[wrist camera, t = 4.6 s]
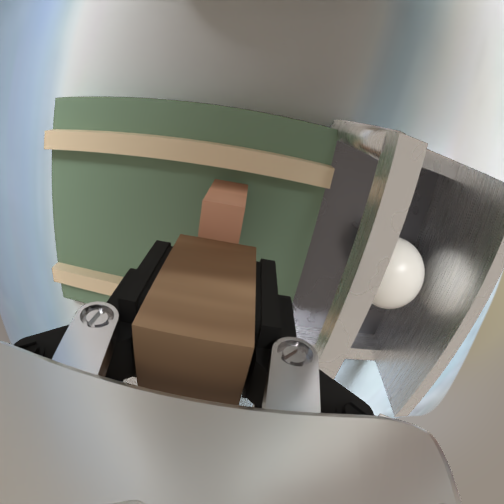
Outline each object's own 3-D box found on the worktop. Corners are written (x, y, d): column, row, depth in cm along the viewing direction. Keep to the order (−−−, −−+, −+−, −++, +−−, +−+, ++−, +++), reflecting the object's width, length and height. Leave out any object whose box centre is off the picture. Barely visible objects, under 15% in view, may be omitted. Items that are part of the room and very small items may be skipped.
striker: (200, 176, 14) (129, 272, 6) (262, 187, 14) (267, 297, 6) (188, 282, 17) (142, 419, 9) (241, 292, 17) (229, 435, 9)
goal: (333, 117, 14) (397, 128, 7) (453, 159, 15) (545, 202, 8) (275, 332, 21) (280, 432, 14) (378, 343, 21) (411, 429, 14)
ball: (423, 237, 17) (364, 218, 17) (445, 266, 13) (375, 245, 13) (400, 292, 18) (344, 277, 19) (413, 329, 15) (347, 314, 15)
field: (69, 97, 14) (47, 98, 12) (332, 128, 15) (343, 131, 13) (73, 285, 20) (58, 303, 17) (278, 326, 20) (280, 349, 18)
